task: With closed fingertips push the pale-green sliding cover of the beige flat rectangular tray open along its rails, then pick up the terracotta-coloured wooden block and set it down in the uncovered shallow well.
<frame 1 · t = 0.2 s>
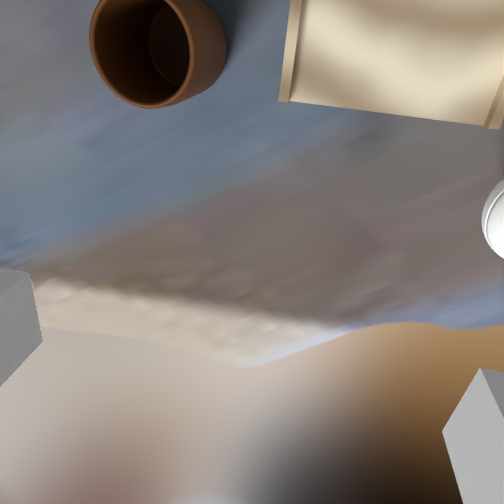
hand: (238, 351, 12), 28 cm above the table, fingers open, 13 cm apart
mug: (178, 18, 32), on the table
spinning top: (502, 184, 34), on the table
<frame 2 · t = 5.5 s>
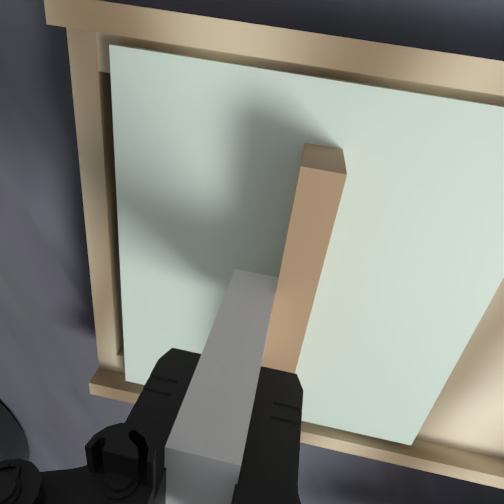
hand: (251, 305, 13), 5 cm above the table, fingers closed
lid: (290, 302, 14), point 4 cm above the table, slide at 0.8 cm, touching gripper
beige flat rectangular tray: (280, 249, 17), on the table
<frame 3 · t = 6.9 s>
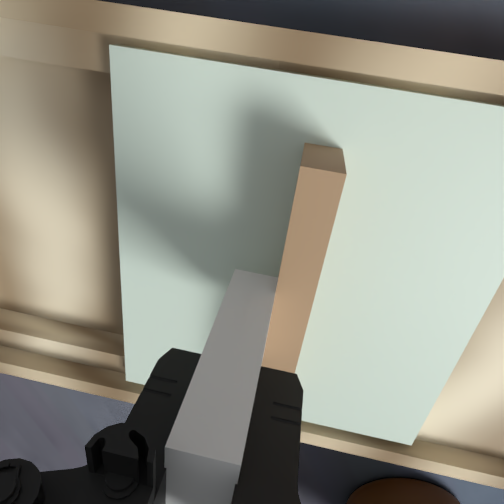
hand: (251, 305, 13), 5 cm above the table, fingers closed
mug: (367, 503, 26), on the table
lid: (290, 302, 14), point 4 cm above the table, slide at 8.8 cm, touching gripper
beige flat rectangular tray: (110, 215, 18), on the table
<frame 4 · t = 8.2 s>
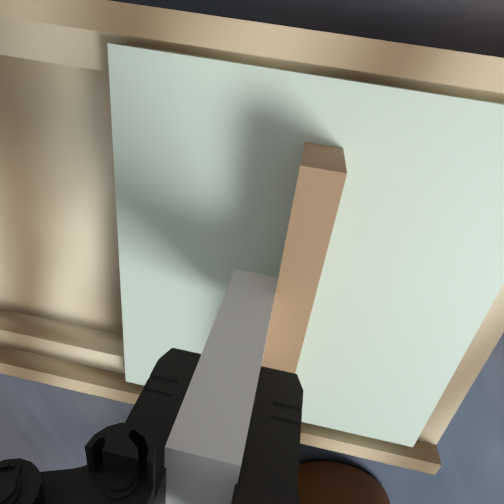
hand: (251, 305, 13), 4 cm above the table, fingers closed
mug: (296, 487, 26), on the table
lid: (290, 303, 14), point 4 cm above the table, slide at 13.7 cm, touching gripper
beige flat rectangular tray: (12, 197, 18), on the table
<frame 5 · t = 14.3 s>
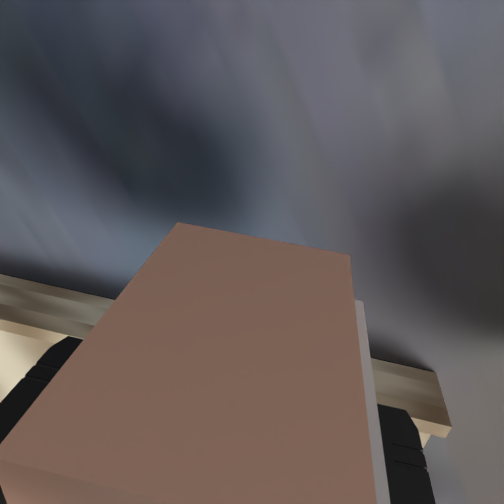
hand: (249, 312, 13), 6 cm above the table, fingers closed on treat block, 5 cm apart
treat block: (251, 306, 13), point 5 cm above the table, touching gripper
beige flat rectangular tray: (60, 384, 26), on the table
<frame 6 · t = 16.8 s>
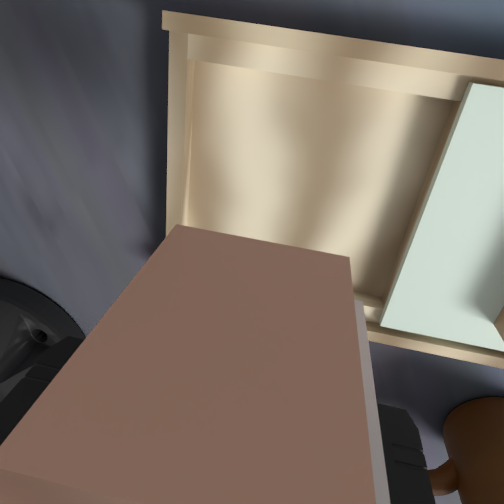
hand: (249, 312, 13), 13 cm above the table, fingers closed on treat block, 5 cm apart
mug: (459, 423, 32), on the table
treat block: (250, 309, 13), point 13 cm above the table, touching gripper
beige flat rectangular tray: (299, 186, 25), on the table
when the fingers open (1 cm above the table, at t = 19.7 s): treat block stays where it is, resting on beige flat rectangular tray.
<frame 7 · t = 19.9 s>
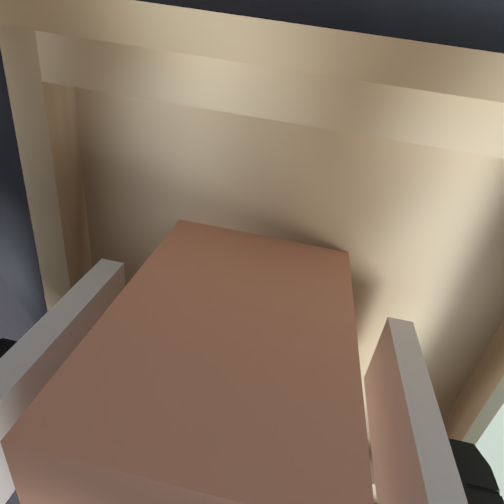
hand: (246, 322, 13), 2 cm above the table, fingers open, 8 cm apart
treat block: (251, 303, 14), point 1 cm above the table, touching beige flat rectangular tray
beige flat rectangular tray: (282, 294, 14), on the table
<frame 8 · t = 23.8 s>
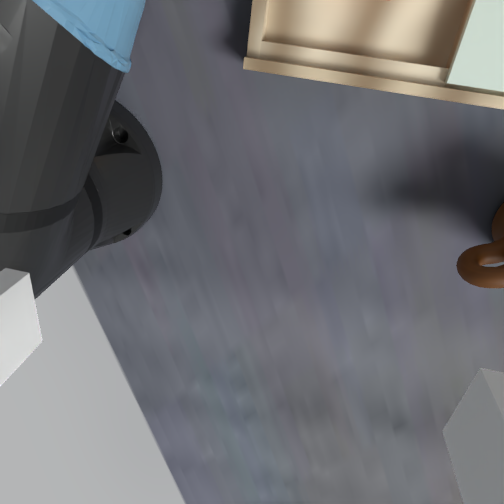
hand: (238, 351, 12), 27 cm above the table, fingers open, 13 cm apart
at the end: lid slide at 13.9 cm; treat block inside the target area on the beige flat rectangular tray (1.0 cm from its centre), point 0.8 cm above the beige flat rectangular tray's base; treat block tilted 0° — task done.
